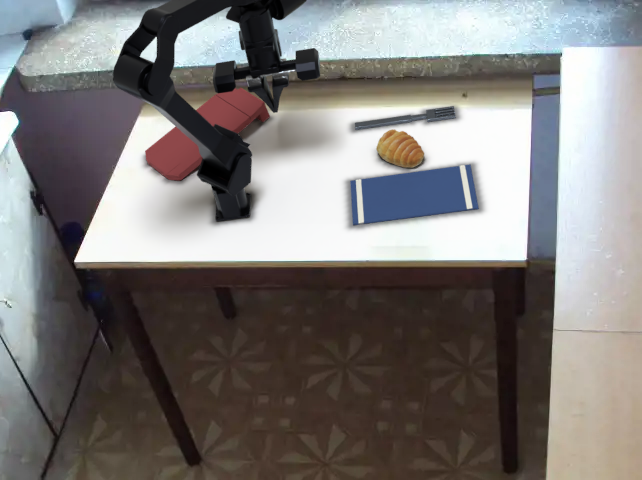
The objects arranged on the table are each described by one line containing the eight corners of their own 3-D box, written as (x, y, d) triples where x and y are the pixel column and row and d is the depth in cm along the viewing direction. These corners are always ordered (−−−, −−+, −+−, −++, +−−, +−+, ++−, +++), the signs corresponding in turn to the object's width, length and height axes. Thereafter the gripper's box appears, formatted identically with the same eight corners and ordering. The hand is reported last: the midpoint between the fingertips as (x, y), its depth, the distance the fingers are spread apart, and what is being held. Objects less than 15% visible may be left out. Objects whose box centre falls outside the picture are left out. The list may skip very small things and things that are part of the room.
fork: (455, 118, 182) (455, 115, 182) (355, 132, 184) (355, 129, 184) (453, 108, 184) (453, 105, 184) (354, 122, 186) (354, 120, 186)
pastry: (433, 157, 176) (432, 140, 173) (407, 176, 174) (405, 159, 171) (398, 138, 181) (396, 121, 178) (373, 156, 179) (370, 139, 176)
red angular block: (182, 197, 186) (276, 120, 191) (172, 179, 182) (268, 101, 187) (149, 172, 193) (241, 98, 198) (139, 154, 189) (233, 79, 194)
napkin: (478, 209, 165) (478, 207, 164) (353, 225, 168) (352, 223, 167) (470, 165, 172) (470, 164, 172) (350, 182, 175) (350, 180, 175)
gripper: (312, 0, 165) (325, 78, 177) (207, 17, 167) (227, 93, 179) (312, 34, 158) (326, 114, 169) (203, 51, 160) (224, 128, 172)
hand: (275, 111), depth 173 cm, fingers closed
